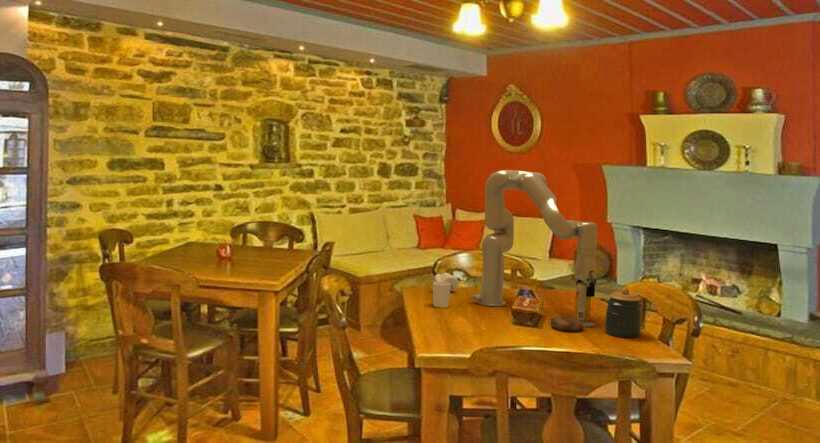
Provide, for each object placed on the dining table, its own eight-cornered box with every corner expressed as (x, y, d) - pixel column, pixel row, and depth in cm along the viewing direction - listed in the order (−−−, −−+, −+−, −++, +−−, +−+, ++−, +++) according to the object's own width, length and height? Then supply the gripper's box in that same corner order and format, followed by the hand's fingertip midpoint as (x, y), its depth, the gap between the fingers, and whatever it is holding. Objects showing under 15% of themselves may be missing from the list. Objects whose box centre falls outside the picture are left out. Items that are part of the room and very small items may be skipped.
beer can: (589, 318, 249) (592, 283, 248) (589, 322, 243) (591, 285, 242) (574, 317, 251) (577, 281, 249) (573, 320, 245) (576, 284, 244)
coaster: (581, 327, 235) (581, 325, 235) (573, 322, 242) (573, 321, 242) (598, 327, 236) (598, 325, 236) (590, 322, 243) (590, 321, 243)
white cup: (429, 306, 260) (430, 283, 259) (435, 303, 267) (436, 280, 266) (446, 309, 257) (447, 285, 256) (452, 305, 264) (453, 282, 263)
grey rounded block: (448, 296, 282) (449, 277, 281) (426, 292, 288) (427, 274, 287) (460, 292, 291) (460, 274, 290) (438, 288, 298) (439, 270, 297)
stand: (557, 332, 227) (558, 324, 226) (545, 323, 238) (546, 316, 238) (587, 332, 228) (588, 324, 228) (574, 323, 240) (574, 316, 240)
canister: (636, 340, 220) (640, 293, 218) (600, 334, 226) (603, 288, 225) (643, 332, 231) (647, 287, 229) (609, 326, 238) (612, 282, 236)
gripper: (569, 249, 252) (567, 290, 254) (587, 255, 235) (585, 298, 237) (585, 249, 253) (584, 289, 255) (605, 255, 236) (603, 298, 238)
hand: (584, 294), depth 246 cm, fingers open, 9 cm apart
